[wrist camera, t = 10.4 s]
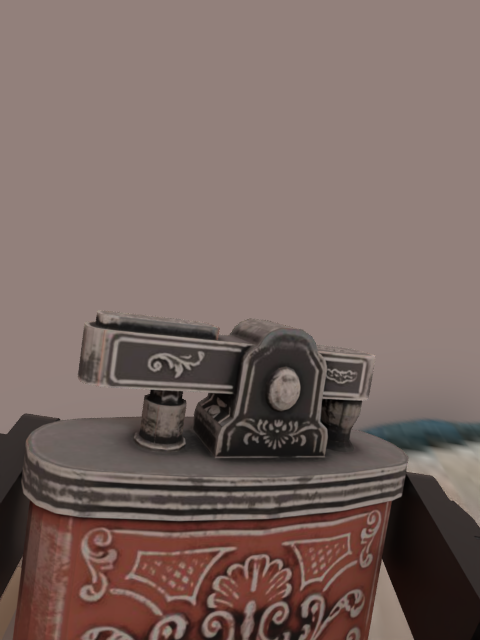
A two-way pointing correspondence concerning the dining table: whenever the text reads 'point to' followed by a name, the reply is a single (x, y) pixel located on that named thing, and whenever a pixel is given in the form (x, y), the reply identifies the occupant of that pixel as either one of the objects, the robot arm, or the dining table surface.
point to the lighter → (208, 491)
